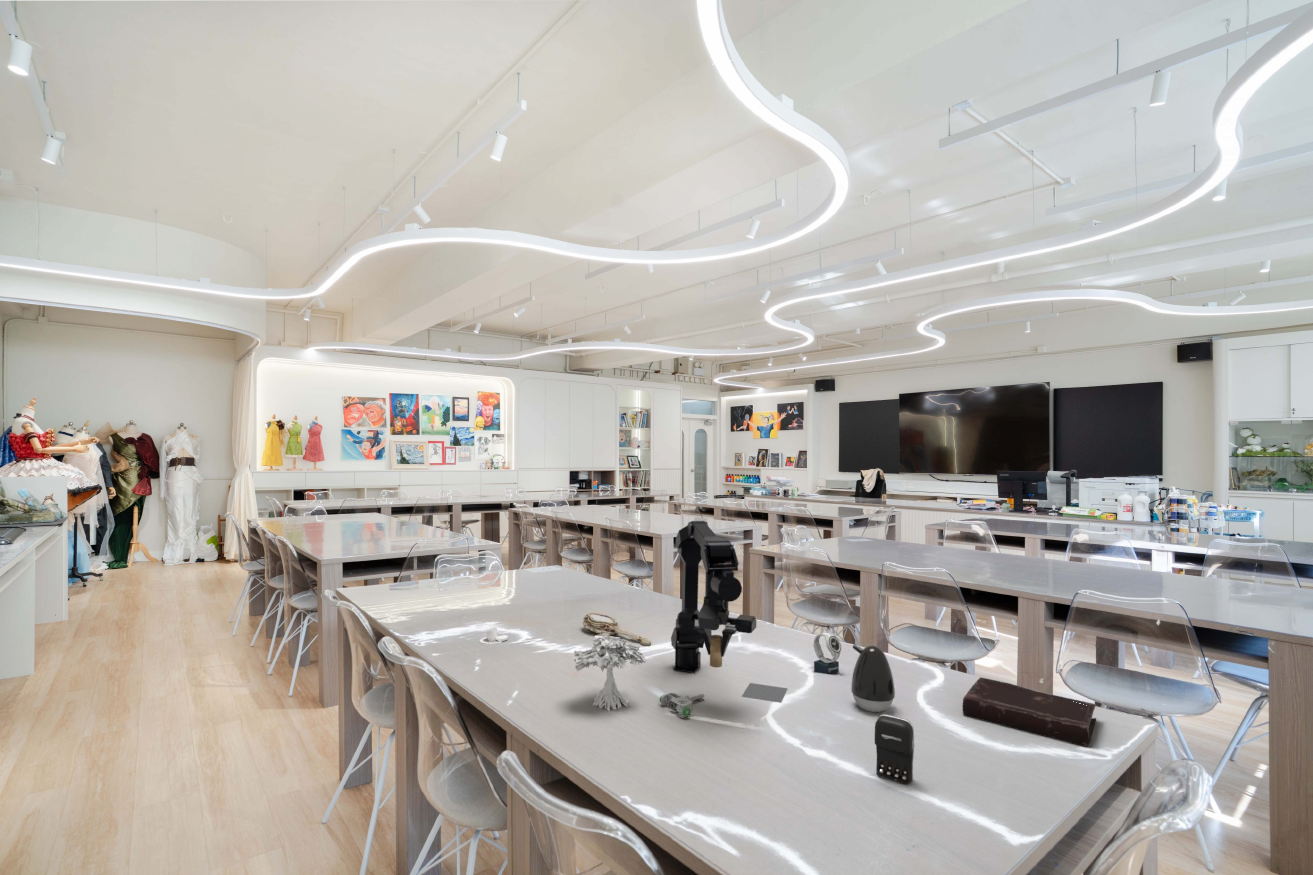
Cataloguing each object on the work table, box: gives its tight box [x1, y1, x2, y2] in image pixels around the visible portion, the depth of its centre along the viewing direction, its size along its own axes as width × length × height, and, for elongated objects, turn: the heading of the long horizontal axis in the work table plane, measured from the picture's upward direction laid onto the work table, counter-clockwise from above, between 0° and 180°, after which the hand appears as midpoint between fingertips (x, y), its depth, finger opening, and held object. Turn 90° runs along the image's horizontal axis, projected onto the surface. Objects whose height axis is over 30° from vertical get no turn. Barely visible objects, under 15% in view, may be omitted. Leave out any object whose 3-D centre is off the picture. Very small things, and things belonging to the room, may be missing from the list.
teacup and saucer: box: [479, 627, 509, 645], centre depth 206 cm, size 9×8×4 cm
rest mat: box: [741, 682, 789, 704], centre depth 161 cm, size 10×10×1 cm
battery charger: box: [874, 714, 915, 785], centre depth 121 cm, size 7×4×11 cm, turn 56°
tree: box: [572, 633, 647, 712], centre depth 156 cm, size 18×16×17 cm
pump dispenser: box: [850, 644, 896, 713], centre depth 155 cm, size 10×10×15 cm
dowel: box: [709, 634, 723, 668], centre depth 154 cm, size 3×3×7 cm
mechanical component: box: [659, 692, 706, 719], centre depth 153 cm, size 3×10×10 cm
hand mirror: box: [582, 612, 652, 646], centre depth 211 cm, size 11×6×30 cm
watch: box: [812, 632, 842, 676], centre depth 179 cm, size 6×8×11 cm
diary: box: [962, 676, 1097, 748], centre depth 150 cm, size 19×25×5 cm
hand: (716, 655), depth 154 cm, fingers closed on dowel, 3 cm apart
